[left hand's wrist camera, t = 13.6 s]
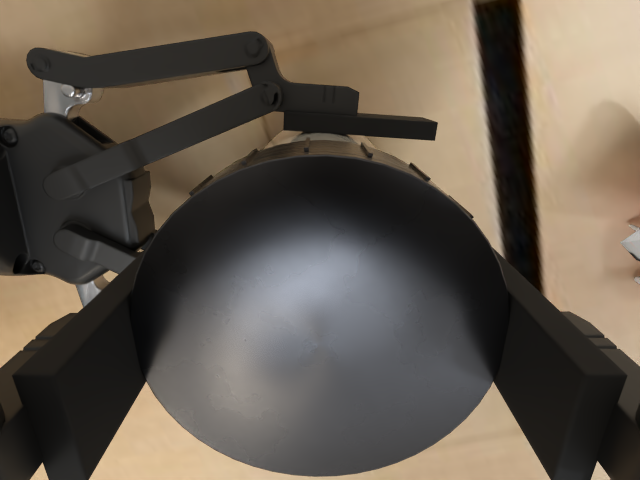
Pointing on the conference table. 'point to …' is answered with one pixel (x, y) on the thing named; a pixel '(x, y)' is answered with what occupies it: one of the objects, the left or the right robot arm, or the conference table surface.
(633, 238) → the fish
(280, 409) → the lid
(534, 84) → the conference table surface
